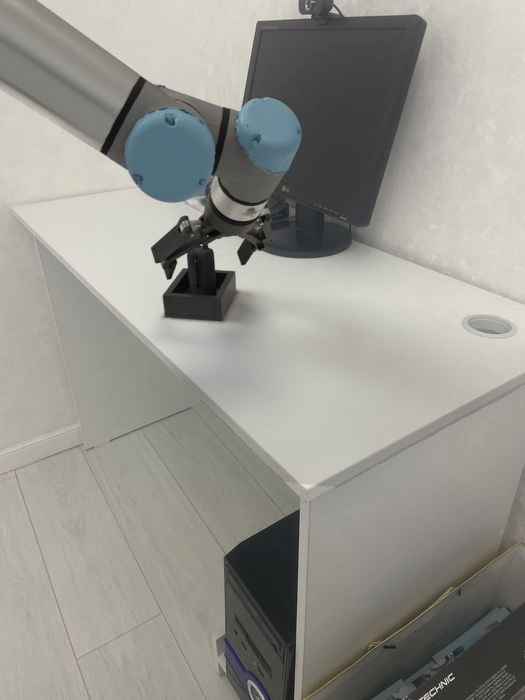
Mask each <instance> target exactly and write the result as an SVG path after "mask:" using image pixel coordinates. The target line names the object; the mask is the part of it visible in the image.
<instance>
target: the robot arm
mask: <svg viewBox="0 0 525 700" xmlns="http://www.w3.org/2000/svg"><path fill="white" fill-rule="evenodd" d="M0 90H1V91H2V92H4V93H5V94H7V95H8V96H10V97H12V98H13V99H15V100H17V101H18V102H19V103H21V104H23V105H25V106H26V107H27V108H29V109H31V110H32V111H34V112H35V113H37V114H38V115H40V116H42V117H44V118H45V119H46V120H48V121H50V122H51V123H53V124H54V125H56V126H58V127H60V128H61V129H63V130H64V131H66V132H67V133H68V134H70V135H72V136H73V137H75V138H77V139H78V140H79V141H82V142H83V143H85V144H86V145H88V146H90V147H91V148H93V149H94V150H96V151H98V153H101V154H102V155H104V156H105V157H107V158H108V159H109V160H111V161H112V162H114V163H116V164H117V165H119V166H120V167H122V168H124V169H125V170H127V172H128V174H129V176H130V177H131V179H132V181H133V183H134V184H135V185H136V187H138V189H139V190H140V191H141V192H142V193H144V194H145V195H146V196H148V197H150V198H152V199H154V200H155V201H159V202H162V203H169V204H174V203H182V202H186V201H188V200H191V199H193V198H194V197H196V196H197V195H198V194H199V193H201V191H203V190H204V188H205V187H206V186H207V185H208V184H209V181H210V179H211V177H213V176H214V179H213V181H212V183H211V187H210V190H209V192H208V195H207V197H206V200H205V202H204V208H203V209H204V210H203V213H202V214H201V215H200V216H199V217H198V219H193V220H190V217H189V215H181V217H180V218H179V220H178V221H177V223H176V224H175V225H174V226H172V228H171V229H170V230H168V231H167V232H166V234H164V235H163V236H162V237H161V238H159V240H157V241H156V242H155V243H154V244H153V245H152V246H151V247H150V251H151V255H152V257H153V261H154V263H155V264H160V266H161V269H162V270H163V272H164V276H165V279H166V280H167V281H169V280H172V279H173V276H174V273H175V270H176V267H177V265H178V259H180V258H181V257H183V256H185V255H187V253H188V252H190V251H191V250H193V249H195V248H196V247H198V246H200V245H201V246H202V245H207V244H208V245H209V244H211V243H213V242H214V241H216V240H221V239H222V238H229V237H239V238H240V239H242V242H241V244H240V246H239V248H238V249H237V250H236V254H237V257H238V259H239V263H240V266H242V267H243V266H246V265H247V263H248V262H249V260H250V259H251V257H252V256H253V254H254V253H256V252H257V251H258V252H261V251H264V250H265V249H266V247H265V244H264V243H266V242H267V243H268V244H272V243H274V242H275V238H274V234H273V231H272V227H271V223H272V222H273V221H272V220H273V216H272V214H271V211H270V208H269V206H268V202H269V200H270V199H271V197H272V195H273V193H274V191H275V190H276V188H277V187H278V185H279V184H280V182H281V180H282V179H283V177H284V175H285V174H286V172H288V171H289V169H290V168H291V166H292V164H293V163H292V162H293V160H294V158H295V157H296V154H297V152H298V149H299V147H300V144H301V141H302V128H301V124H300V121H299V119H298V118H297V117H298V116H296V114H295V112H294V111H293V110H292V109H291V108H290V107H289V106H288V105H286V104H285V103H283V102H282V101H280V100H278V99H276V98H272V97H269V96H266V97H262V98H258V97H255V98H252V99H250V100H248V101H247V102H246V103H244V105H243V106H242V108H241V109H239V110H236V109H234V108H230V107H226V106H221V105H218V104H215V103H212V102H209V101H206V100H203V99H201V98H197V97H194V96H192V95H189V94H186V93H183V92H180V91H177V90H174V89H172V88H168V87H167V86H166V85H163V84H159V83H158V84H156V83H153V82H151V81H149V80H148V79H146V78H145V77H143V76H142V75H141V74H140V73H138V72H137V71H136V70H135V69H133V68H132V67H130V66H128V65H127V64H126V63H125V62H123V61H122V60H120V59H119V58H117V57H116V56H115V55H113V54H112V53H111V52H109V51H108V50H106V49H105V48H104V47H102V46H101V45H100V44H98V43H97V42H96V41H94V40H93V39H92V38H90V37H89V36H87V35H86V34H84V33H83V32H82V31H80V30H79V29H78V28H76V27H75V26H74V25H71V24H70V23H69V22H68V21H66V20H65V19H63V18H62V17H61V16H59V15H58V14H57V13H55V12H54V11H52V10H51V9H50V8H48V7H47V6H45V5H44V4H43V3H41V2H40V1H39V0H0ZM256 223H259V225H260V226H261V227H262V228H261V229H262V231H260V230H259V229H258V228H256V227H255V225H256ZM204 233H205V234H206V235H207V237H205V234H204Z"/></svg>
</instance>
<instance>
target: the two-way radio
mask: <svg viewBox="0 0 525 700" xmlns="http://www.w3.org/2000/svg"><path fill="white" fill-rule="evenodd" d="M204 234H205V233H204ZM205 237H208V236H207V235H206V234H205ZM215 262H216V261H215V252H214V250H213V248H211V247H209V244H207V245H202V244H201V245H200V246H198V247H196V248H195V249H193V250H191V251H190V252H188V253H186V263H187V265H186V266H187V268H188V274H189V282H190V290H191V294H195V295H210V296H216V277H215V270H216V263H215Z"/></svg>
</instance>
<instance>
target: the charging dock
mask: <svg viewBox="0 0 525 700" xmlns="http://www.w3.org/2000/svg"><path fill="white" fill-rule="evenodd" d="M215 277H216V296H210V295H195V294H191V290H190V282H189V274H188V267H183V268H182V269H181V270H180V271H179V273H178V274H177V276H175V278H174V279H173V281H172V282H171V283H170V284H169V286H168V287H167V288H166V290H165V291H164V293H163V294H162V295H161V296H162V304H163V312H164V318H173V319H185V320H201V321H214V322H215V321H216V322H222V321H223V320H224V318H225V316H226V313H227V311H228V309H229V307H230V306H231V303H232V301H233V299H234V297H235V295H236V293H237V278H236V277H237V276H236V271H235V270H225V269H224V270H223V269H215Z"/></svg>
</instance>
